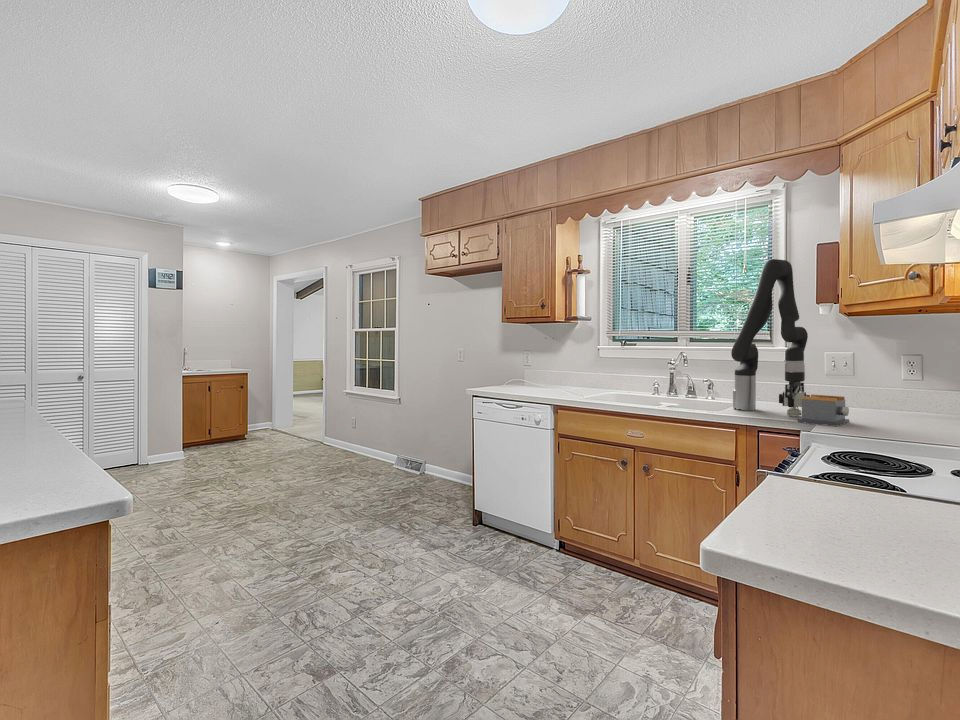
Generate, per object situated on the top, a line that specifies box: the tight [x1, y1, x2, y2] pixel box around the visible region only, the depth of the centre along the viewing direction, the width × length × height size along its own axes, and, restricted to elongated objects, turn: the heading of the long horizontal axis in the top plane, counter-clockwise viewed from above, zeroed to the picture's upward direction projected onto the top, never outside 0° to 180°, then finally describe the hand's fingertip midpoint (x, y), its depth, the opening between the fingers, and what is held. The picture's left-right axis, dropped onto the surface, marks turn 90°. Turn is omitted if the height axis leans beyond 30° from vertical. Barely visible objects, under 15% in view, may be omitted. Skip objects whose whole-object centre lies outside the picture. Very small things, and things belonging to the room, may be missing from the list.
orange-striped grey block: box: [797, 394, 850, 426], centre depth 200 cm, size 15×14×11 cm
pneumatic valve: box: [778, 390, 811, 418], centre depth 217 cm, size 6×12×12 cm, turn 55°
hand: (794, 406), depth 217 cm, fingers open, 8 cm apart
